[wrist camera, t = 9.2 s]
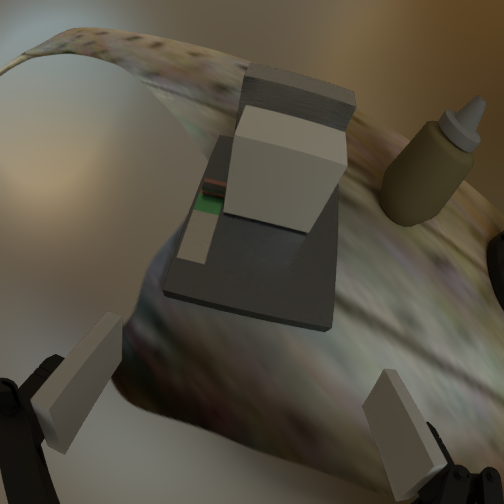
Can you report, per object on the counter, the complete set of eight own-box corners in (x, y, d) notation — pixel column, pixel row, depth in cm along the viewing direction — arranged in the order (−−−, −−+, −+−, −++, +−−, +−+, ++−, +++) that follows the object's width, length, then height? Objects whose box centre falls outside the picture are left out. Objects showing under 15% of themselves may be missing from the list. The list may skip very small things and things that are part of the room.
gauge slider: (313, 178, 31) (343, 112, 23) (308, 232, 27) (347, 165, 19) (216, 154, 30) (224, 82, 22) (196, 205, 27) (198, 128, 19)
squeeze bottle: (420, 247, 31) (521, 145, 16) (365, 214, 32) (453, 88, 16) (425, 202, 35) (502, 108, 19) (376, 172, 36) (443, 63, 20)
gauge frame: (333, 174, 34) (372, 98, 24) (325, 332, 25) (401, 280, 15) (218, 144, 33) (229, 58, 23) (164, 296, 24) (141, 217, 14)
